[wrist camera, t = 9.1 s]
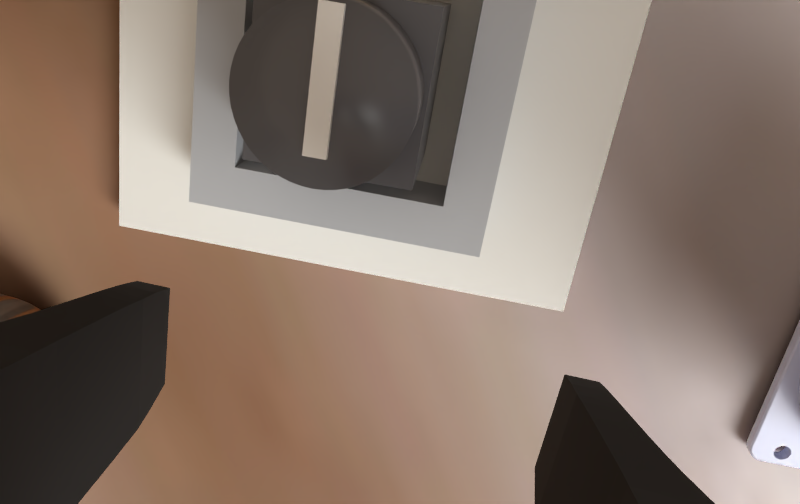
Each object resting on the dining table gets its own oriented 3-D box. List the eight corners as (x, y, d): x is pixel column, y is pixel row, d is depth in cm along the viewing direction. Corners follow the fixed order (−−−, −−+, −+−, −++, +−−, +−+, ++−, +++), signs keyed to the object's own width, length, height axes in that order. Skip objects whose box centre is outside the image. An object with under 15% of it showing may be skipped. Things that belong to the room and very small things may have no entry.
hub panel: (681, -130, 16) (718, -152, 14) (560, 300, 21) (571, 343, 18) (135, -220, 17) (74, -257, 15) (131, 217, 22) (84, 248, 19)
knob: (425, 151, 19) (404, 213, 14) (287, 126, 19) (216, 177, 14) (463, -64, 17) (456, -88, 12) (308, -89, 17) (233, -125, 12)
